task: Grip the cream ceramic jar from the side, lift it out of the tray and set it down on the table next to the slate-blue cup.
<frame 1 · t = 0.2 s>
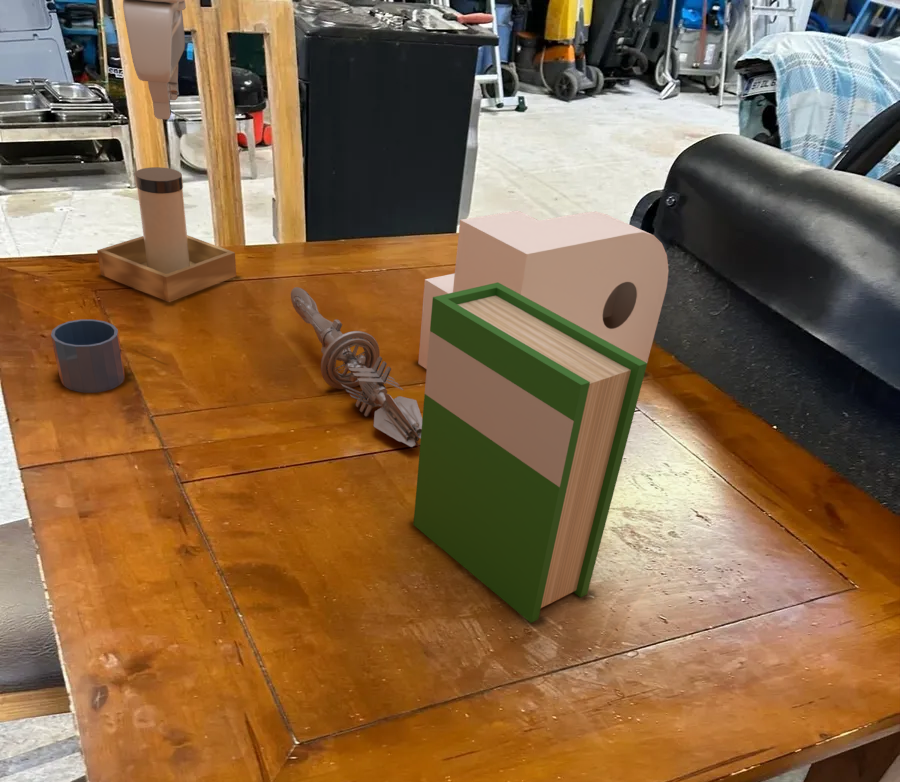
hand: (167, 107, 109), 25 cm above the table, tool pointing down, fingers open, 8 cm apart
hardback book: (496, 561, 87), on the table
jar: (169, 275, 130), point 1 cm above the table, touching tray
tray: (170, 279, 131), on the table
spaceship: (349, 390, 111), on the table
cup: (93, 379, 106), on the table
stepped bracket block: (532, 372, 120), on the table
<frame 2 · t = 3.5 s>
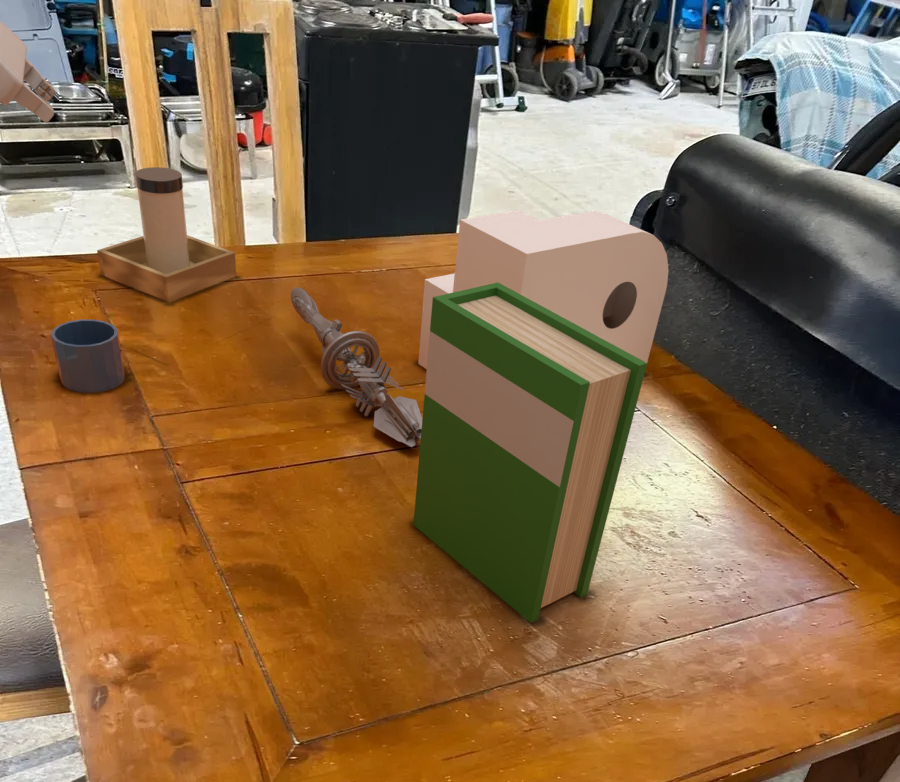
hand: (51, 106, 113), 23 cm above the table, tool tilted 45°, fingers open, 8 cm apart
nothing on the table moved.
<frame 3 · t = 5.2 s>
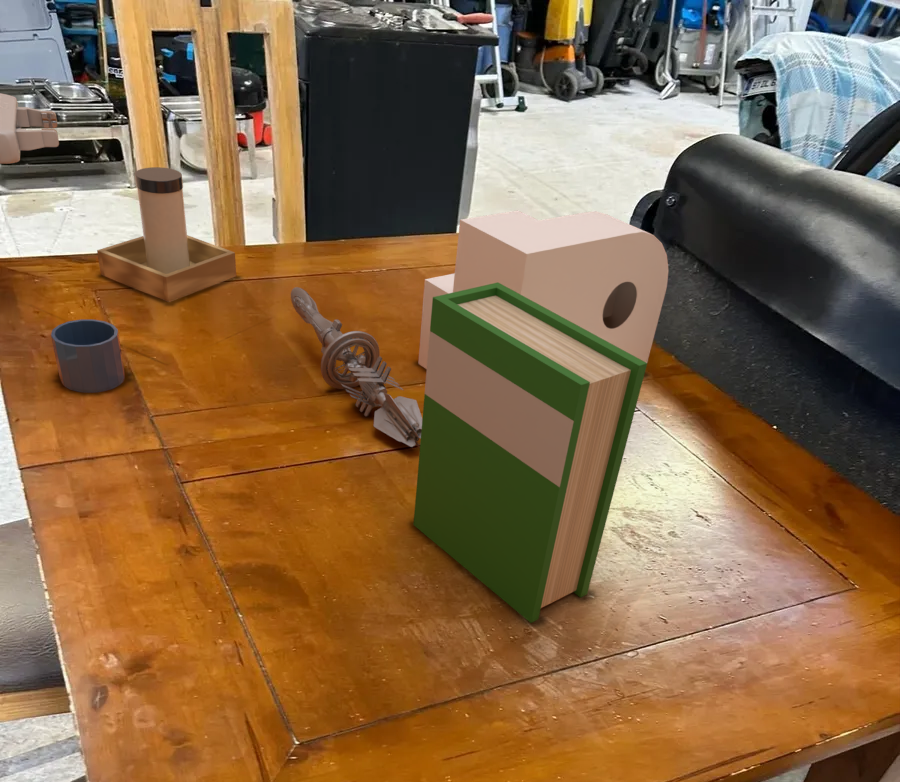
hand: (57, 128, 115), 20 cm above the table, tool horizontal, fingers open, 8 cm apart
nothing on the table moved.
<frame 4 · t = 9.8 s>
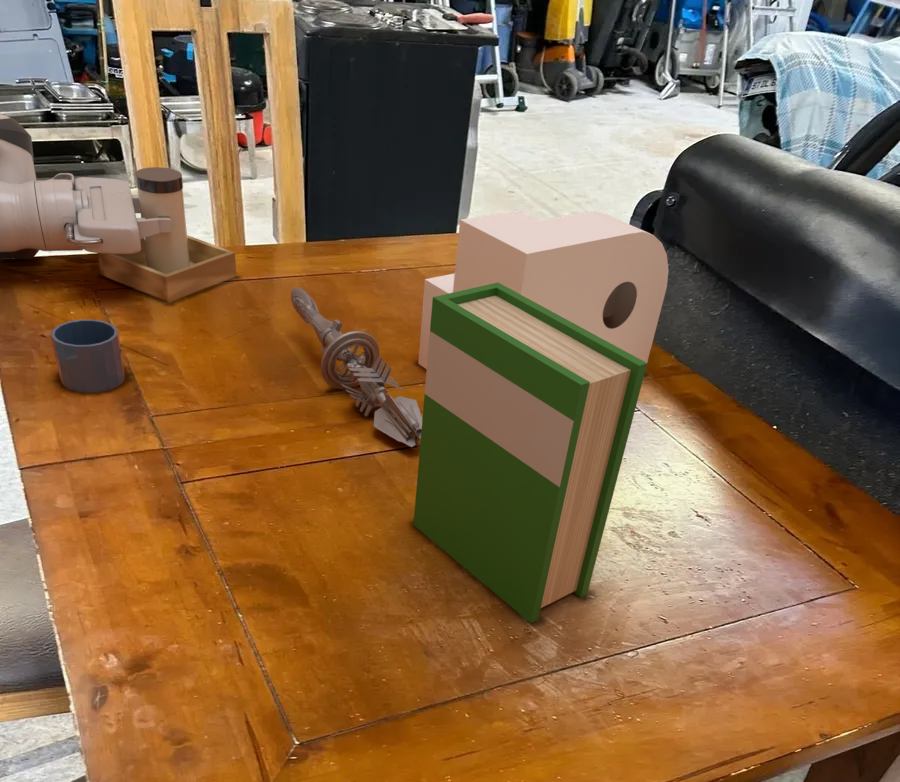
hand: (169, 215, 125), 9 cm above the table, tool horizontal, fingers closed on jar, 6 cm apart
jar: (169, 275, 130), point 1 cm above the table, touching tray, gripper
everything else where it was.
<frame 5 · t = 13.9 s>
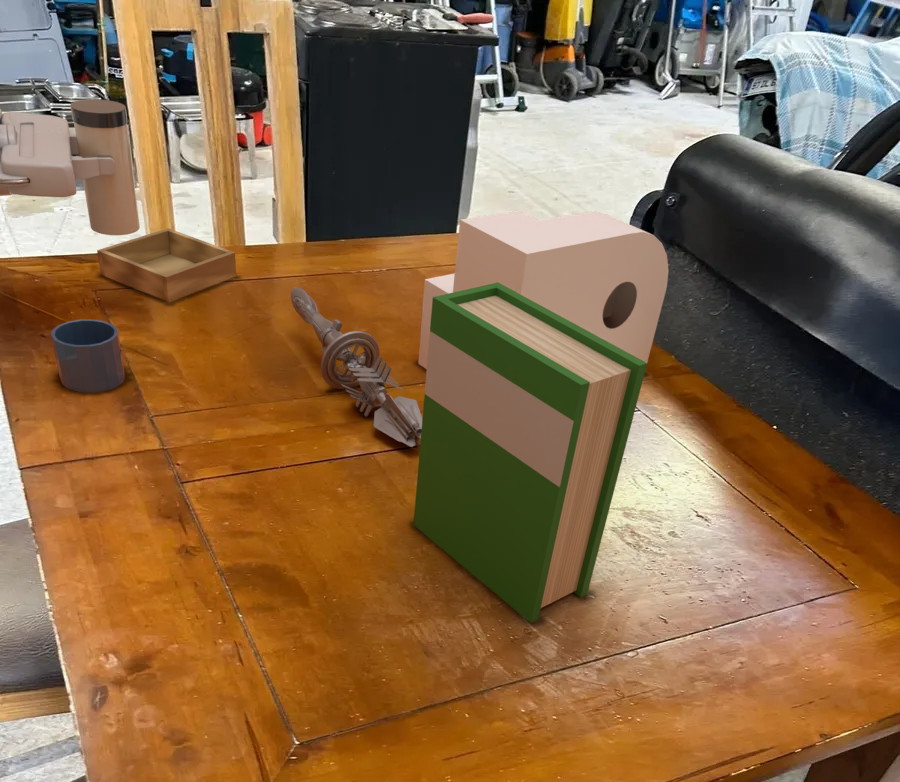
hand: (112, 155, 109), 20 cm above the table, tool horizontal, fingers closed on jar, 6 cm apart
jar: (115, 227, 114), point 11 cm above the table, touching gripper
everything else where it was.
when the fingers open (9 cm above the table, at t = 18.1 s): jar stays where it is, on the table.
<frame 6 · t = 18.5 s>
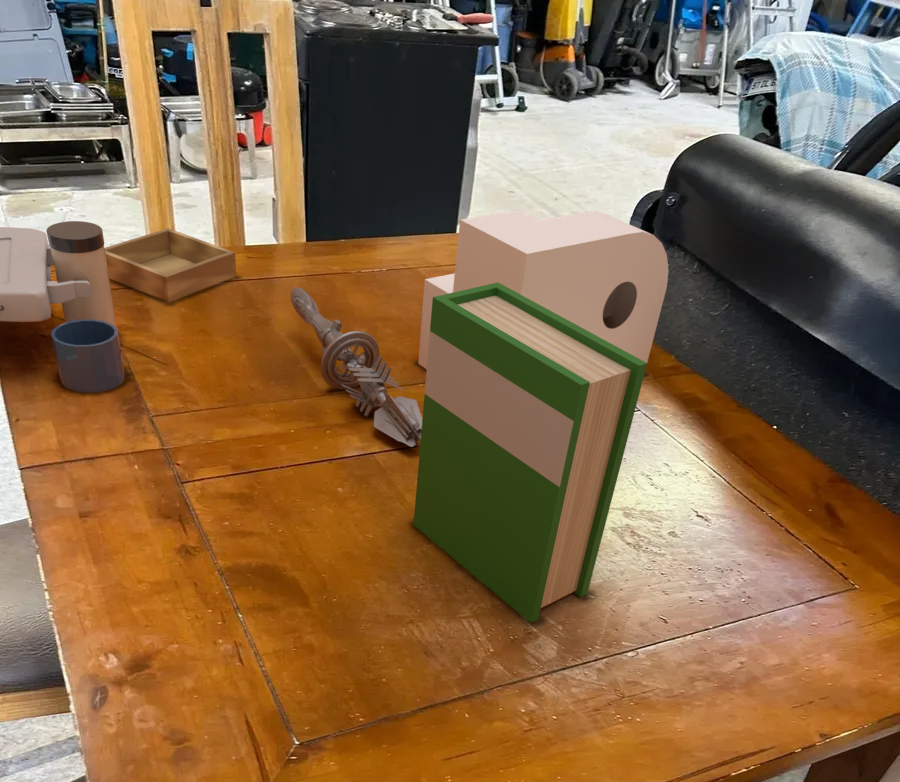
hand: (89, 271, 108), 9 cm above the table, tool horizontal, fingers open, 8 cm apart
jar: (94, 341, 114), on the table
everything else where it was.
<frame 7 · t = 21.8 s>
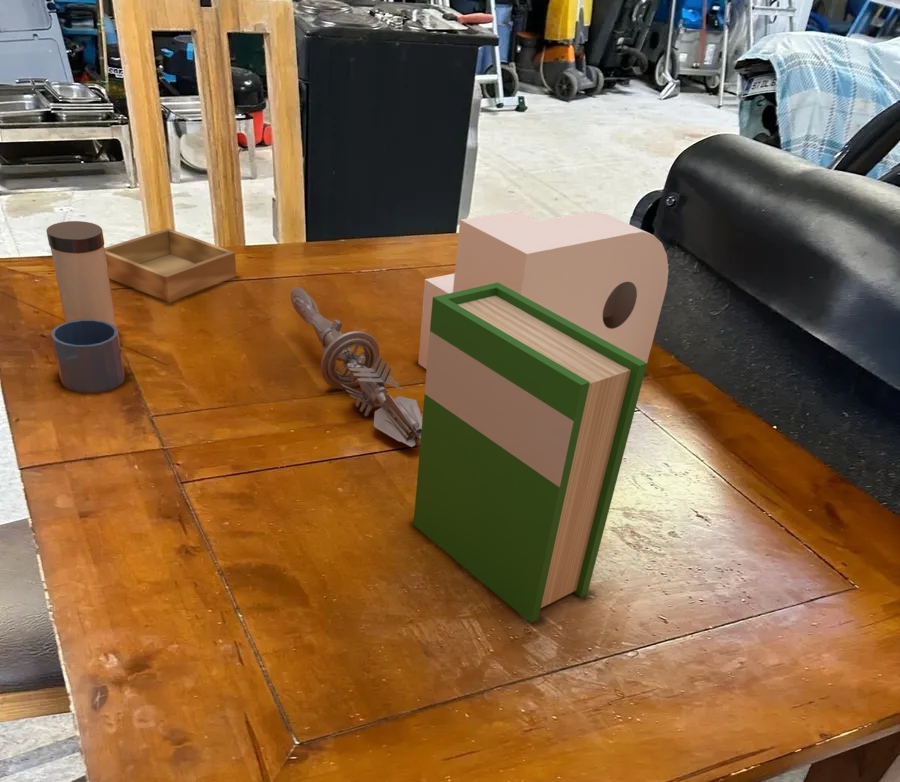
nothing on the table moved.
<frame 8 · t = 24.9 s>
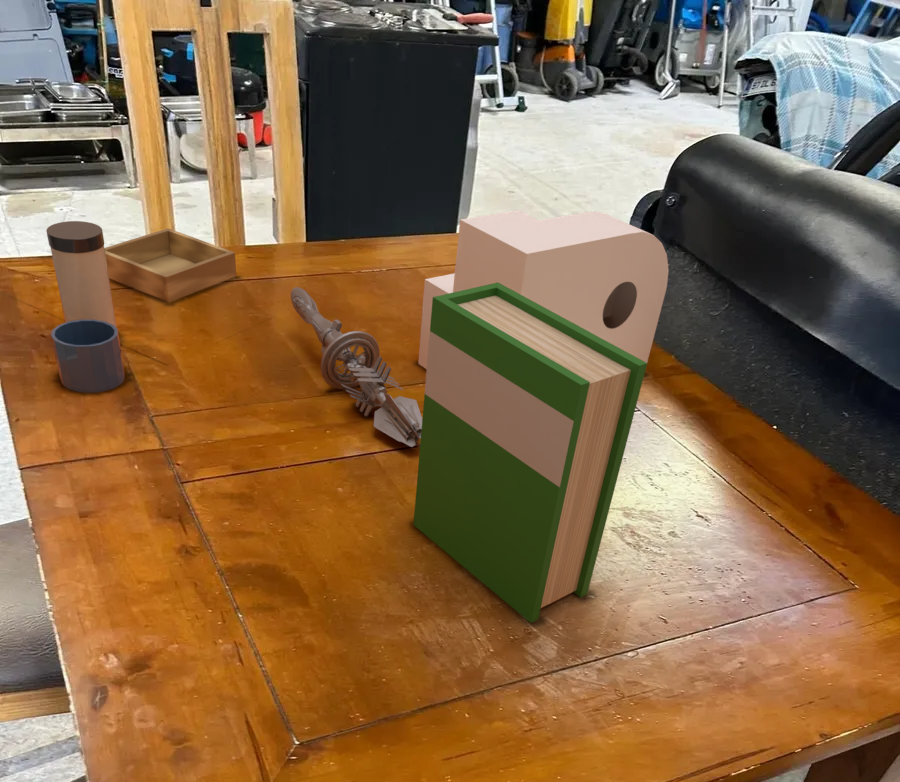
nothing on the table moved.
at the end: jar on the table; jar 10.5 cm from the cup (horizontally); jar tilted 0° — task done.
